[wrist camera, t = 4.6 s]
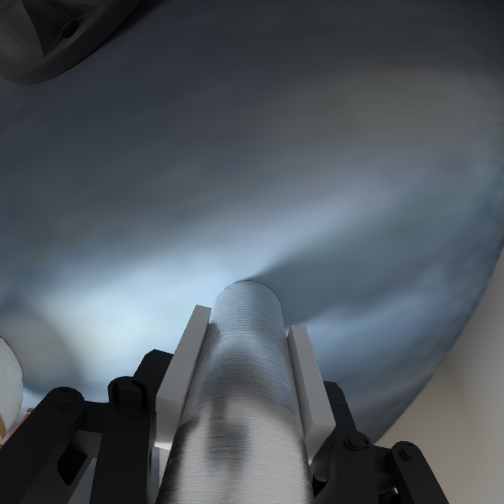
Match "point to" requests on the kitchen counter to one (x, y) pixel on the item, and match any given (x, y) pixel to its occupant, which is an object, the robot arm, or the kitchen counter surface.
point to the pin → (240, 412)
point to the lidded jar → (9, 388)
